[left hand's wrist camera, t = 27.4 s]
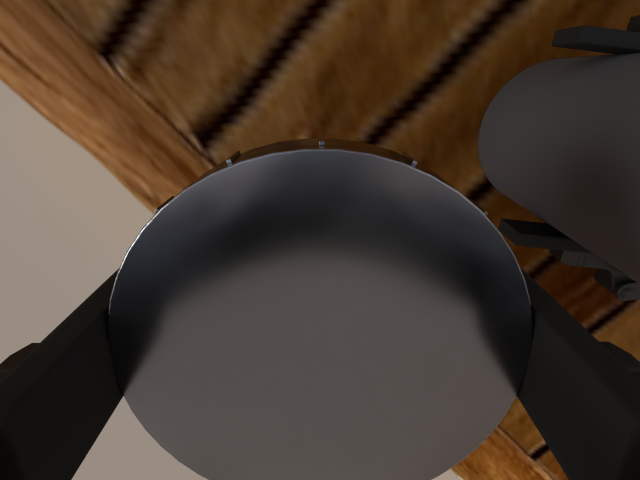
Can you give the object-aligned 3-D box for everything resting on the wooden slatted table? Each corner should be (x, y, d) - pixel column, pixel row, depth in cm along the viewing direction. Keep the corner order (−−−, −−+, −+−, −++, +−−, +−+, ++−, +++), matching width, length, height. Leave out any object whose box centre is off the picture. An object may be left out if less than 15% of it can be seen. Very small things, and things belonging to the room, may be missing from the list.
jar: (534, 30, 27) (884, -46, 10) (653, 101, 29) (1126, 138, 12) (450, 167, 31) (609, 281, 14) (561, 224, 32) (825, 389, 15)
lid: (257, 43, 10) (245, 36, 8) (585, 280, 12) (626, 312, 10) (76, 364, 13) (42, 404, 11) (359, 502, 15) (364, 552, 13)
